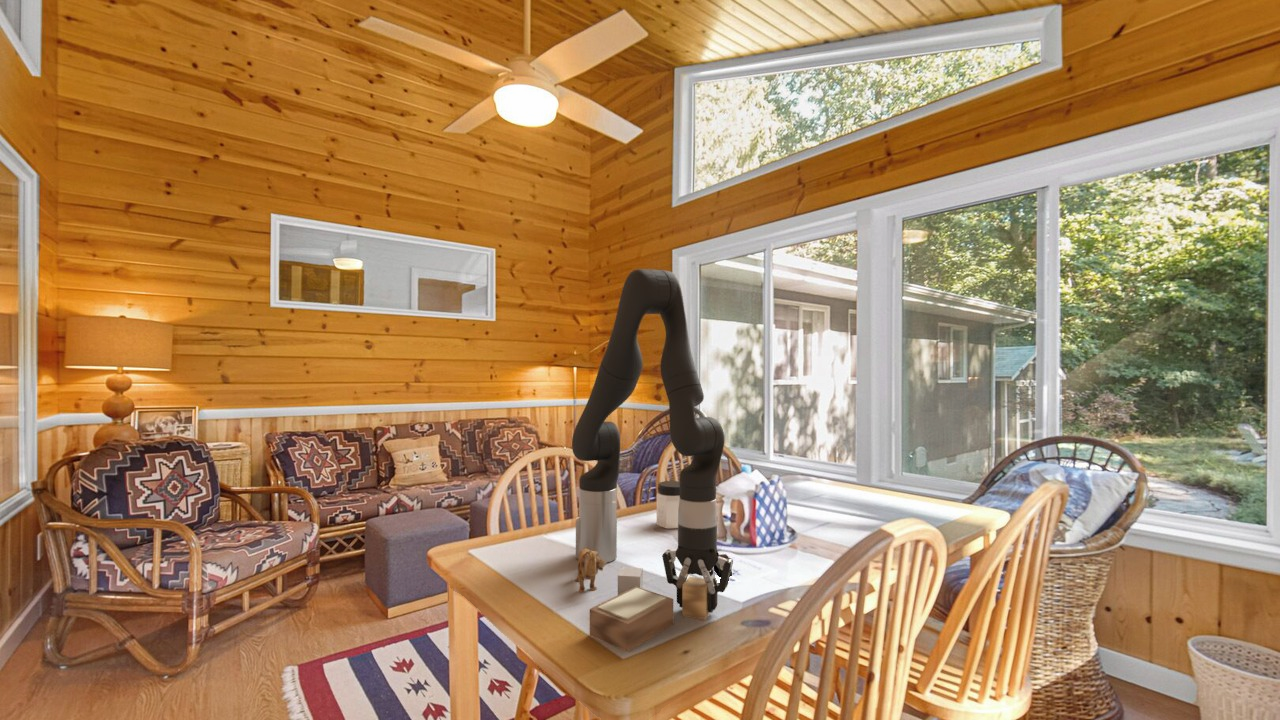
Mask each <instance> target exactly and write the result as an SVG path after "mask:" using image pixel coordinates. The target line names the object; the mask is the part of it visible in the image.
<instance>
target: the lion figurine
mask: <svg viewBox="0 0 1280 720" xmlns="http://www.w3.org/2000/svg"><path fill="white" fill-rule="evenodd" d="M606 564H607V563H606V562H604V561H603V560H602V559H601V558H600V557H599V556H598V552H596V551H590V550H589V549H583V550H581V551H580V553H579V556H578V559H577V576H576V578H575V582H579V583H578V584H579V589H578V592H579V593H585V589H586V587H585V583H584V582H585V581H587V580H588V581H590V582H589V588H590V591H596V590H597V588H598V587H596V586H595V580H596V575H598V573H599V571H600V572H603V570H604V567H605V566H606Z"/></svg>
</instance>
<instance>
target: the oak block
mask: <svg viewBox="0 0 1280 720" xmlns="http://www.w3.org/2000/svg"><path fill="white" fill-rule="evenodd" d="M708 593H709V589H708V586H707V583H706V582H705V581H704V578H701V577H697V576H696V577H694V576H688V577H687V580H686V581H685V582H684V584H683V588H682V607H681V609H682V610H681V611H682V612H681V613H682V617H686V618H687V617H688V618H691V619H692V618H693V619H699V620H705V621H706V619H707V618H708V616H709V614H710V612H708Z"/></svg>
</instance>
